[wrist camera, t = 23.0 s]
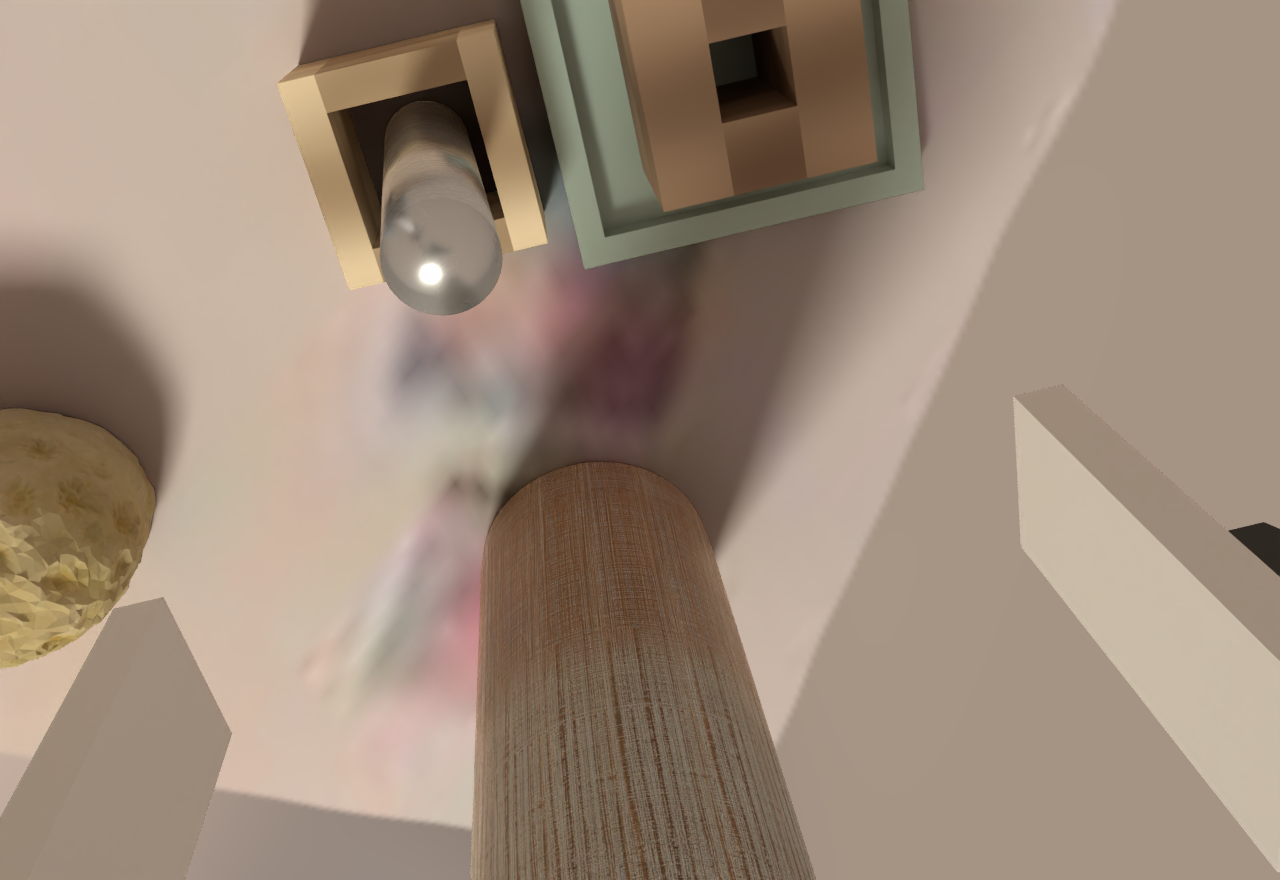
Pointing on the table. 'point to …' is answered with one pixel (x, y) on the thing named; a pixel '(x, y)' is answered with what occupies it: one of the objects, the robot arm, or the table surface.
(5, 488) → the decorative item
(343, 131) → the block
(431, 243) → the cylinder
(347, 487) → the table surface
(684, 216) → the tray
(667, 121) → the block
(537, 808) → the planter
